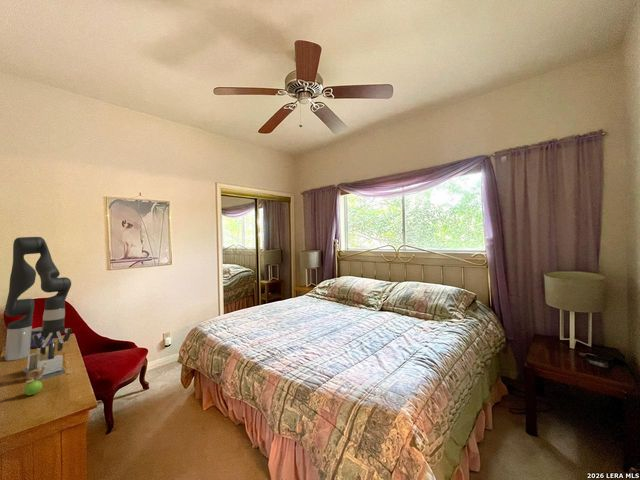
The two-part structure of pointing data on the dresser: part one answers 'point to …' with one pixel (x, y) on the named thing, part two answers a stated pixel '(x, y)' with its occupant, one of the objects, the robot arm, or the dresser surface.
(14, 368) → the dresser surface
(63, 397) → the dresser surface
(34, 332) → the planter
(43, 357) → the brass block
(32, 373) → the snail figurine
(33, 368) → the vise
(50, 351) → the free jaw
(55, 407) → the dresser surface
